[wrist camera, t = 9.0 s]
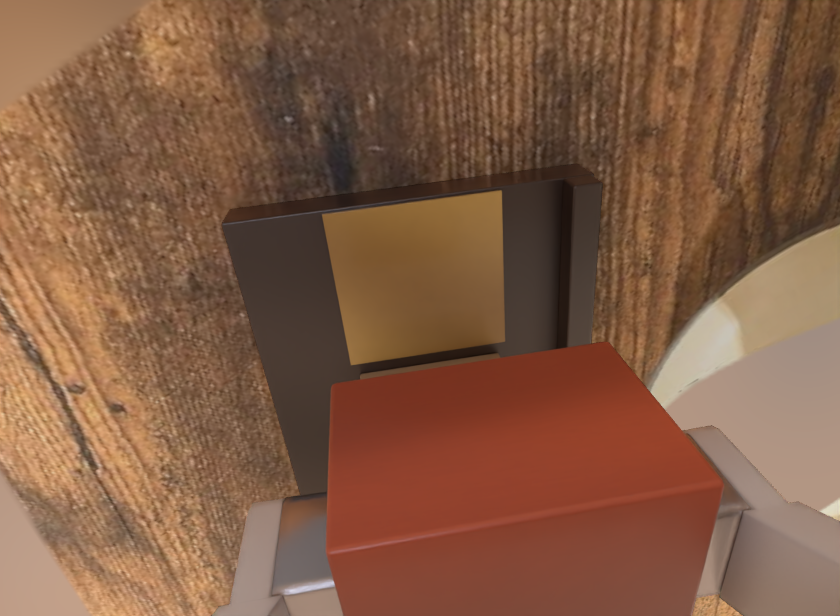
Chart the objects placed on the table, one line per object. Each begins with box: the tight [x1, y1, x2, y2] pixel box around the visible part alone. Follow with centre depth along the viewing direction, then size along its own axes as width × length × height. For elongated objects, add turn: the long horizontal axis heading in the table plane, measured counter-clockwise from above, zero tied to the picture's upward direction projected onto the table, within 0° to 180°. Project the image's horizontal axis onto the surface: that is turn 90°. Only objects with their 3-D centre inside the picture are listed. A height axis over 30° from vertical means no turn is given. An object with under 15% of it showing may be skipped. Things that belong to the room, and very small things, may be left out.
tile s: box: [325, 342, 724, 616], centre depth 8 cm, size 4×4×3 cm
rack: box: [222, 164, 603, 495], centre depth 17 cm, size 16×10×4 cm, turn 6°
